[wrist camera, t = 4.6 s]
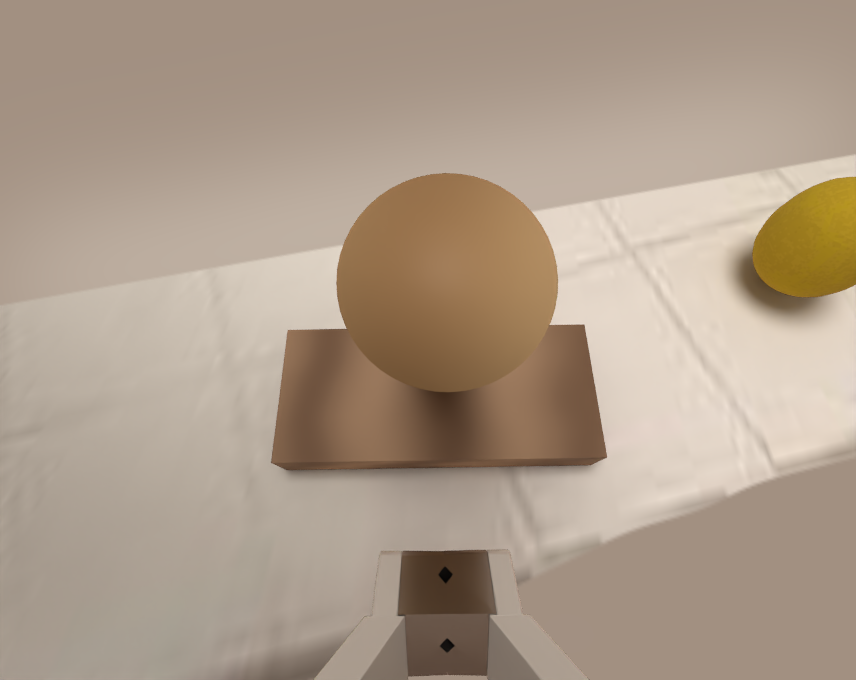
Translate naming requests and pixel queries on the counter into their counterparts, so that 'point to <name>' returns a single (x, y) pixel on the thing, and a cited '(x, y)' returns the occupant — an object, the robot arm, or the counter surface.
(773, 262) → the lemon
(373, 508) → the counter surface
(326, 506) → the counter surface
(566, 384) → the brown wooden block
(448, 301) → the tan wooden peg
